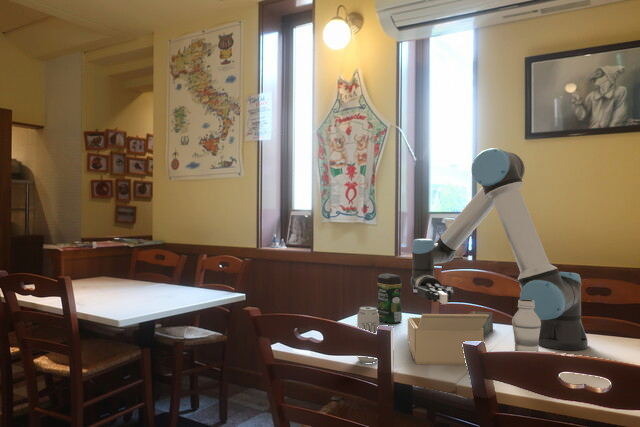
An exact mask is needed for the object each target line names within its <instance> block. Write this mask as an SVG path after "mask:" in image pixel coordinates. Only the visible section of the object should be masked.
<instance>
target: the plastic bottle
mask: <svg viewBox="0 0 640 427" xmlns="http://www.w3.org/2000/svg"><path fill="white" fill-rule="evenodd" d="M517 308H518V310H517V311H516V312H515V314H514V315H513V317H512V319H511V324H512V331H513V338H514V352H515V351H536V352H539V353H540V351H539V349H540V348H539V346H540V345H538V344H539V335H540V327H541V322H540V319H539V317H538V316H537V314H536V313H535V312H534V308H535V301H534V300H530V299H520V298H519V299H518V300H517Z"/></svg>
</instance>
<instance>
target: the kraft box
mask: <svg viewBox="0 0 640 427" xmlns="http://www.w3.org/2000/svg"><path fill="white" fill-rule="evenodd" d="M420 319H421V317H408V318H407V341H408V350H409V353H410V355H411V357H412V359H413V361H414V363H415V365H419V366H420V365H429V366H430V365H431V366H435V365H436V366H440V365H441V366H467V365H466V363H465V358H464V353H463V347H462V344H463V342H465V341H483V342H484V338H483V328H482V329H481V330H418V326H419V323H420Z"/></svg>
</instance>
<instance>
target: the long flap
mask: <svg viewBox="0 0 640 427" xmlns="http://www.w3.org/2000/svg"><path fill="white" fill-rule="evenodd" d="M488 316H489V314H469V313H467V314H465V313H463V314H462V313H455V314H454V313H451V314H450V313H421V316H420V318H421V319H420V323H419V326H418V330H481V329H482V327H483V325H484V324H485V322H486V320H487V318H488Z"/></svg>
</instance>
